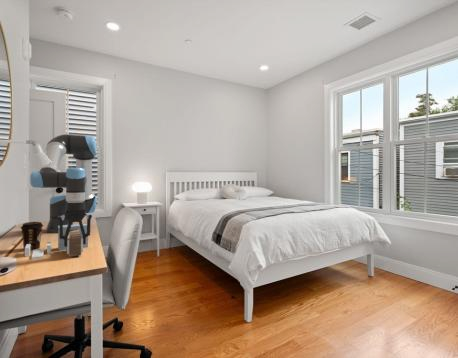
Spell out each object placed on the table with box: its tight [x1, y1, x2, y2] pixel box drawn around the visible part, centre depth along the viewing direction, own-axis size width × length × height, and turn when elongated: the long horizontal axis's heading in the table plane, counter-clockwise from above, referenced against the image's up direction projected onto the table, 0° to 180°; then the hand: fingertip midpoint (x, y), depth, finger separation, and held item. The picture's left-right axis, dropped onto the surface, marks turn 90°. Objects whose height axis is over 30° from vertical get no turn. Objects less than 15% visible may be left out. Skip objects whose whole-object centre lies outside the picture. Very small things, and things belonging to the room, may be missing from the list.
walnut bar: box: [68, 231, 82, 258], centre depth 120 cm, size 14×4×8 cm, turn 32°
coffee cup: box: [20, 221, 44, 252], centre depth 125 cm, size 9×8×13 cm
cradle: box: [24, 241, 52, 261], centre depth 117 cm, size 13×10×4 cm
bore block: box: [57, 223, 89, 252], centre depth 129 cm, size 5×13×11 cm, turn 124°
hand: (75, 252), depth 117 cm, fingers closed on walnut bar, 5 cm apart
